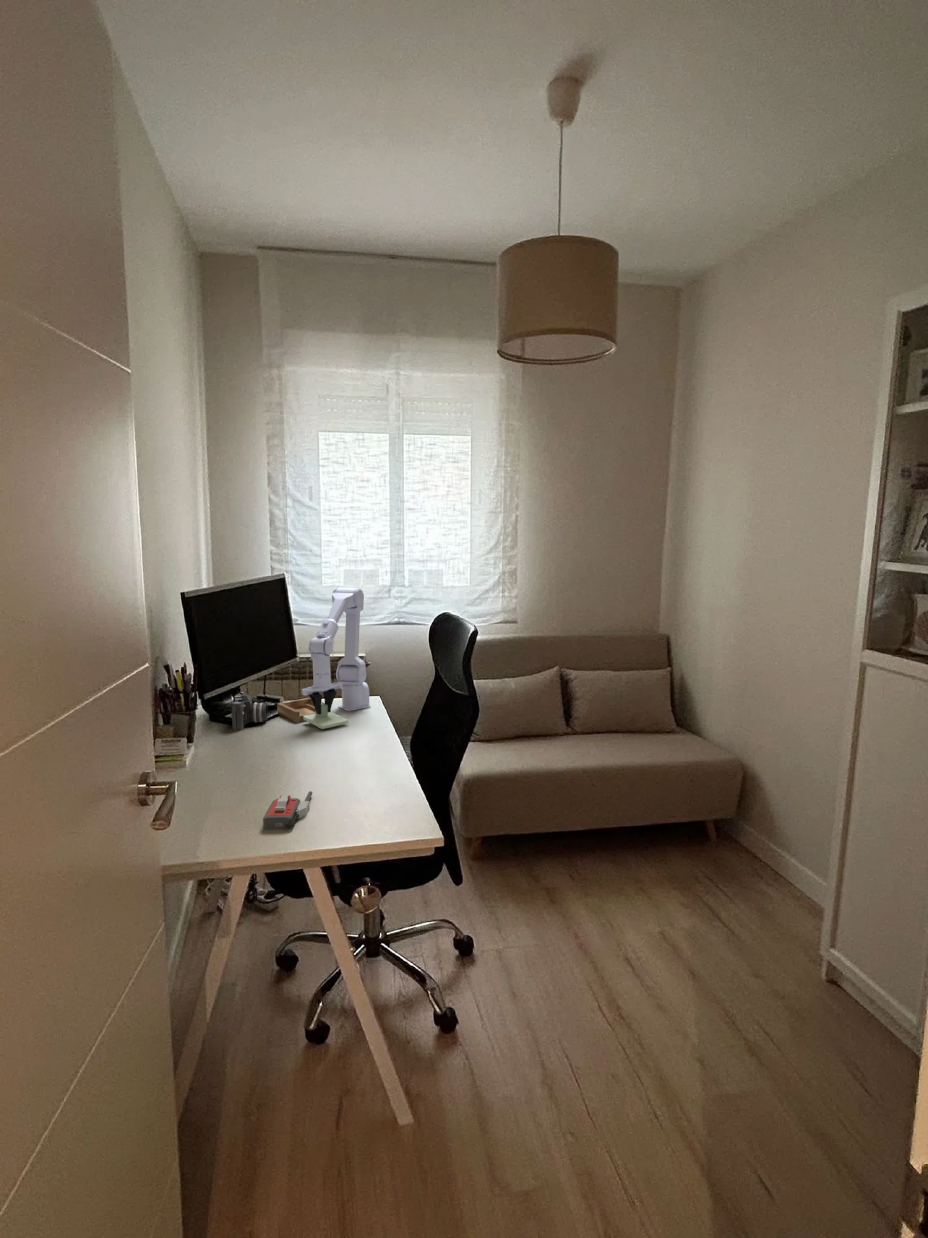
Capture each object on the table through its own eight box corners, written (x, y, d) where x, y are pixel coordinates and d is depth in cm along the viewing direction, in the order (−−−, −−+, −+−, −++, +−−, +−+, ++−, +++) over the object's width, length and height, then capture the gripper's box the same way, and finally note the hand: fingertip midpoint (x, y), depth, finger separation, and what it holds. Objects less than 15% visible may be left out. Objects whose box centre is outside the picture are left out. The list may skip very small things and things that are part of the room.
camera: (264, 729, 236) (263, 699, 235) (230, 731, 235) (228, 701, 233) (269, 717, 250) (267, 689, 249) (236, 719, 249) (235, 691, 247)
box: (311, 707, 263) (310, 697, 262) (330, 716, 251) (330, 705, 250) (277, 713, 254) (277, 703, 254) (296, 723, 243) (296, 712, 242)
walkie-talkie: (300, 832, 159) (315, 797, 179) (300, 813, 159) (314, 780, 178) (260, 833, 159) (279, 798, 179) (259, 814, 158) (279, 781, 178)
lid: (328, 713, 248) (328, 699, 247) (348, 723, 239) (348, 708, 238) (303, 719, 241) (303, 704, 240) (322, 729, 233) (322, 714, 232)
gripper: (333, 668, 247) (335, 706, 249) (296, 674, 237) (297, 714, 239) (345, 671, 242) (346, 710, 244) (307, 677, 232) (308, 718, 234)
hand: (323, 712), depth 241 cm, fingers closed on lid, 3 cm apart
